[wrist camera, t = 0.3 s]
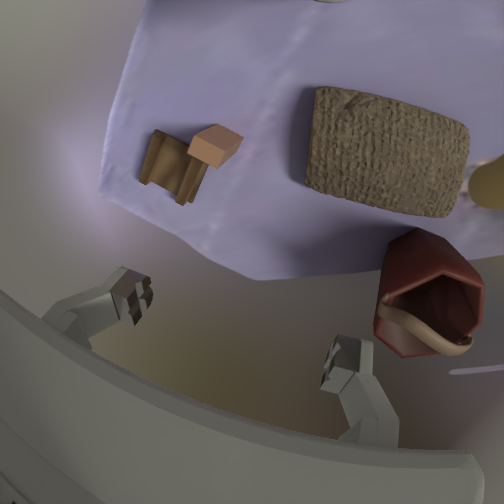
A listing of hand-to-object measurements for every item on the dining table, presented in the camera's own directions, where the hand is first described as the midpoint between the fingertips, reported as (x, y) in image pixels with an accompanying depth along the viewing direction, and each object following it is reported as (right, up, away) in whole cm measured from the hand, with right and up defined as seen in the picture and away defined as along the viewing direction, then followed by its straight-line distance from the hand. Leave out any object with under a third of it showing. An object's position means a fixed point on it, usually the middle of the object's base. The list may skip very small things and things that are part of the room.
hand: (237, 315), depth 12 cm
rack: (-16, +21, +49) cm, 56 cm away
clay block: (-4, +25, +43) cm, 50 cm away
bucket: (+38, +1, +47) cm, 60 cm away
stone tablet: (+26, +22, +37) cm, 50 cm away
